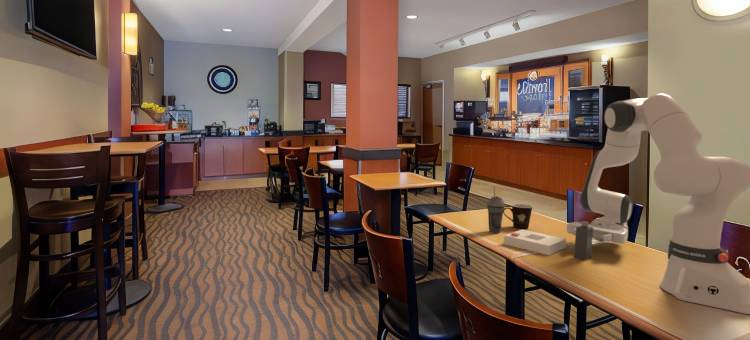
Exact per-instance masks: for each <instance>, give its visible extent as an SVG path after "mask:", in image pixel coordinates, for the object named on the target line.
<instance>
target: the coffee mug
mask: <svg viewBox="0 0 750 340" xmlns="http://www.w3.org/2000/svg"><path fill="white" fill-rule="evenodd" d="M506 210H510V212H511V213H512V218H511V217H510V216H508V215H507V214H506V213H505V211H506ZM532 211H533V206H532V205H529V204H526V203H525V204H523V203H513V204H512V205H511V207H508V206H507V207H504V211H503V215H504V216H505V218H507V219H509V220H510V221H511V222H512V225H513V226H512V228H513V229H517V230H529V226H530V223H531V222H530V221H531V216H532Z"/></svg>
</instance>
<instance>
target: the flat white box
mask: <svg viewBox="0 0 750 340" xmlns="http://www.w3.org/2000/svg"><path fill="white" fill-rule="evenodd" d="M566 244H567V239H566V238H562V237H559V236H554V235H549V234H544V233H540V232H536V231H531V230H528V229H526V230H521V229H518V230H516V231H512V232H511V233H507V234H504V236H503V245H505V246H510V247H514V248H518V249H523V250H525V249H526V251H530V252H533V253H539V254H542V255H545V256H550V255H552V254H555V253H557V252H559V251H562V250H563V249H566Z"/></svg>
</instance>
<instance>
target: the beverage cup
mask: <svg viewBox="0 0 750 340" xmlns="http://www.w3.org/2000/svg"><path fill="white" fill-rule="evenodd" d="M492 188H493V196H492V197H490V198H489V200H488V202H487V205H486V206H487V211H488V217H487V218H488V232H489V233H491V234H495V235H496V234H501V229H502V223H503V215H504V213H503V211H504V212H505V210H504V208H506V206H505V202H504V199H503V198H502V197H500V196H496V187H495V185H493V187H492Z"/></svg>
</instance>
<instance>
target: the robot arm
mask: <svg viewBox="0 0 750 340" xmlns="http://www.w3.org/2000/svg"><path fill="white" fill-rule="evenodd" d="M603 119H604V124H605V126H606V128H607V131H606V134H605V135H606V136H605V143H604V146H603V148H602V149H600V150H598V151H597V152H596V153H595V154H594V155H593V159H592V160H591V163H590V167H589V170H588V172H587V177H586V180H585V183H584V186H583V189H582V191H581V194H580V196H579V201H578V202H579V204H580V206H581V208H582V209H583V210H584V211H585V212H591V213H597V214H600V215H603V216H601V217H598V218H595V219H593V220H592V221H591V222H590V223H588V227H593V236H592V239H594V240H595V241H598V242H601V243H604V242H612V243H617V244H619V245H620V244H623V245H624V244H626V243H627V242H628V238H629V226H628V222H629V221H630V219H631V217H632V214H633V210H634V205H633V201H632V200H631V198H630V196H629V195H628V194H624V193H620V192H616V191H612V190H611V191H610V190H607V189H602V188H600V187H599V183H600V179H601V176H602V173H603V170H604V169H607V168H608V169H609V168H614V167H621V166H625V165H627V164H629V163H631V162H633V161H634V160H636V158H637V157H638V154H639V152H640V146H641V136H642V132H644V131H645V132H646V131H648V134H649V135H650V137H651V139H652V140H653V141H654V143H655V145H656V147H657V149H658V151H659V154H660V161H659V162H658V163H657V165H656V167H655V169H654V171H653V181H654V184H655V185H656V187H657V188H658V190H659V191H660V192H662V193H665V194H670V195H674V196H679V197H690V198H689V200H688V202H687V203H686V204H685V205H684V206H683V207H682V208H680V209H678V210H677V211H676V212H675V214H674V215H673V221H672V229H671V231H672V232H671V239H670V240H669V241H668V246H667V248H668V249H667V259H668V260H667V264H666V265H667V266H666V269H665V271H664V272H665V273H664V274H663V277H662V279H661V282H660V284H659V287H660V288H661V289H662V290H663V291H665V292H667V293H669V294H671V295H672V296H674V297H675V298H676V299H678V300H680V301H683V302H689V303H693V304H697V305H698V304H699V305H704V306H707V307H713V308H717V309H723V310H727V311H730V312H731V311H732V312H736V313H741V314H744V315H745V314H746V315H750V281H749V279H748V278H747V277H745V275H744V274H742V273H741V272H740V271H738V270H737V269H736V268H734V267H733V266H732V265H731V264H730V263H729V262H728V260H729V250H728V249H726V250H725V248H723V247H721V238H722V232H723V227H724V226H723V225H724V222H725V218H726V215H727V213H728V211H729V210H730V208H731V207H732V205H733V204H734V202H735V200H736V199H737V198H738V197H739V196H740V195H741V194H742V193H744V192H745V191H747V190H748V189H749V188H750V165H749V164H748V163H747V162H745V161H743V160H741V159H737V158H733V157H728V156H703V155H702V154H700V153H699V152H698V150H697V148H698V147H699V145H700V144H701V142H702V132H701V131H700V130H699V128H698V126H697V125H696V124H695V123H694V121H693V119H691V116H690V115H689V114H688V113H687V111H686V110H685V109H684V107H682V105H681V104H680V103H679V102H678V101H676V99H674V97H672V96H671V95H668V94H667V93H656V94H653V95H651V96H649V97H641V98H631V99H626V100H618V101H614V102H612V103H610V104H609V105H607V107H606V108H605V111H604V115H603ZM581 225H582V221H573V222H568V223H567V224H566V233H568V234H572V235H573V236H576V227H578V226H581Z"/></svg>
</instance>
